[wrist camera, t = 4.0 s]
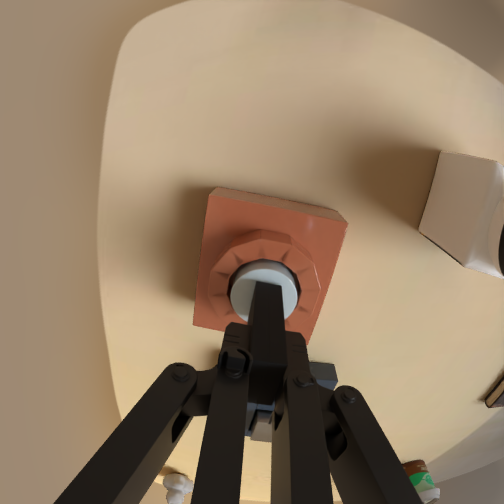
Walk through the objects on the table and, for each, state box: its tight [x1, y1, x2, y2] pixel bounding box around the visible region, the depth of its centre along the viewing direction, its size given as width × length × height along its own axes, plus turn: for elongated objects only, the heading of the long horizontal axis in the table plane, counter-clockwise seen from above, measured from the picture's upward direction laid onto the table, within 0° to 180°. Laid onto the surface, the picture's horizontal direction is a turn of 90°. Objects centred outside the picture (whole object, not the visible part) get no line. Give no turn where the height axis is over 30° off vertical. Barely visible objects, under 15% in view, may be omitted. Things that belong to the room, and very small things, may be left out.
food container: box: [402, 460, 440, 504], centre depth 33 cm, size 12×6×10 cm, turn 58°
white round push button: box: [230, 258, 297, 322], centre depth 18 cm, size 4×4×2 cm
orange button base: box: [193, 187, 348, 345], centre depth 20 cm, size 10×9×5 cm
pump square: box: [250, 409, 273, 442], centre depth 24 cm, size 4×4×2 cm
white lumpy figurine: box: [163, 473, 194, 504], centre depth 35 cm, size 5×7×8 cm
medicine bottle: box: [418, 151, 504, 279], centre depth 14 cm, size 7×7×12 cm
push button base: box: [245, 362, 338, 437], centre depth 26 cm, size 11×10×4 cm
